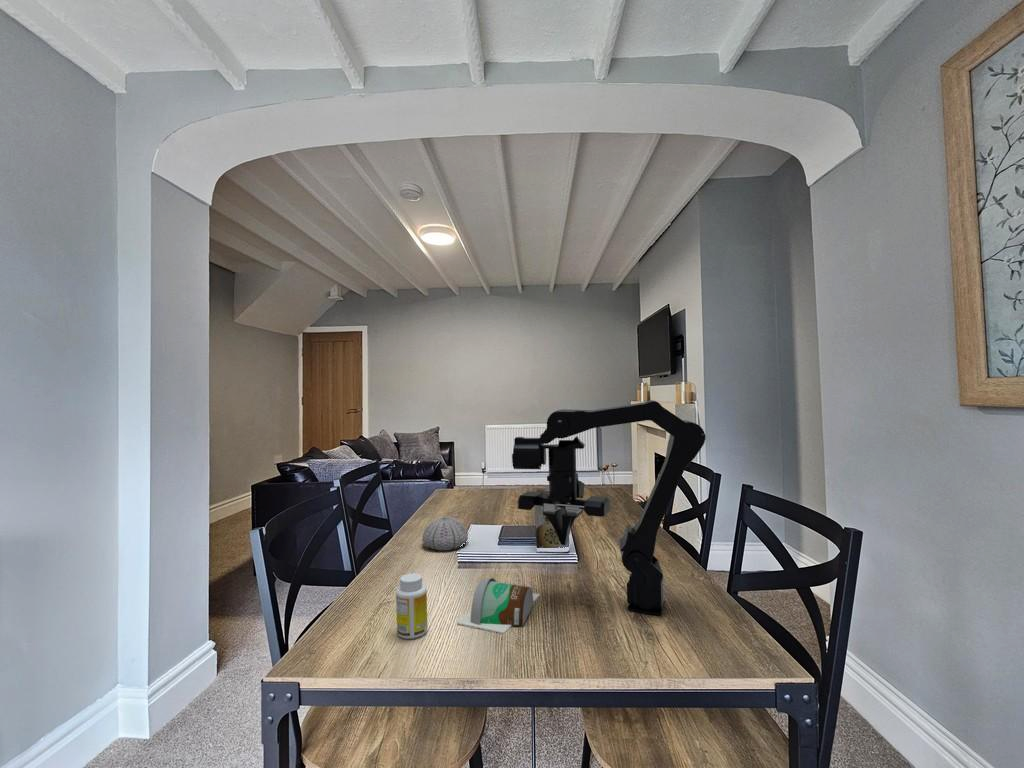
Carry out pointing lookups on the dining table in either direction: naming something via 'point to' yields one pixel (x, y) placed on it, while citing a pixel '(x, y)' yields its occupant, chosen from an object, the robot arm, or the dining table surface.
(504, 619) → the food container
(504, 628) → the mat
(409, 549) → the dining table surface
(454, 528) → the sea urchin shell
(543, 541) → the coffee box
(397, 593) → the supplement bottle
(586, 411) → the robot arm
